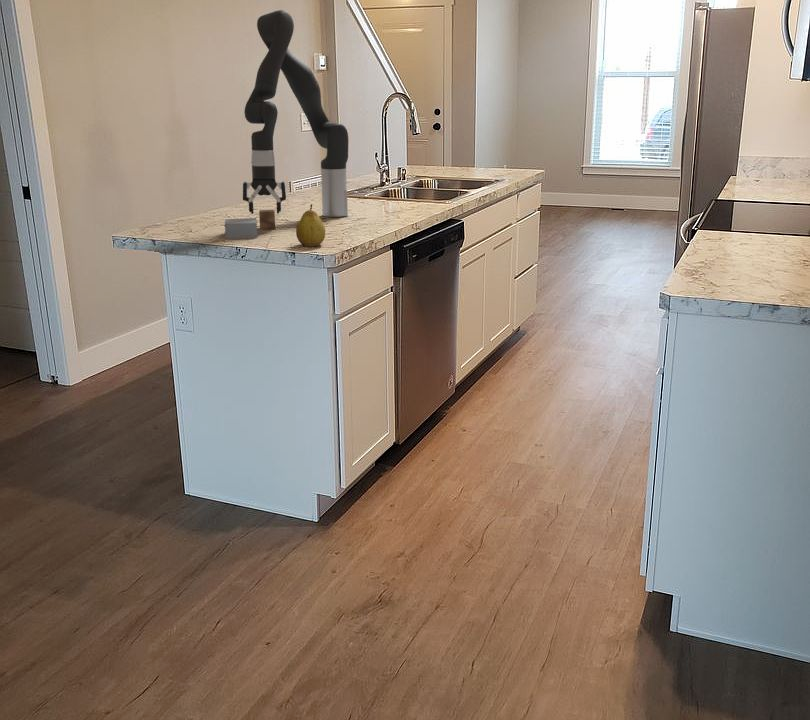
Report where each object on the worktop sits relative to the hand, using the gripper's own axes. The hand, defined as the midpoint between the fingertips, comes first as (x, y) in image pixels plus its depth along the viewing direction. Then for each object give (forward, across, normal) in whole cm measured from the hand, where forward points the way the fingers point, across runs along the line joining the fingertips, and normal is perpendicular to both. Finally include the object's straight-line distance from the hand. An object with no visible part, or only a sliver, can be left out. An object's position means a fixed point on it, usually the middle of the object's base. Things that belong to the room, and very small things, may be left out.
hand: (265, 213), depth 283 cm
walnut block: (+5, -1, 0) cm, 5 cm away
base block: (+6, +7, +13) cm, 16 cm away
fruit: (+5, -15, +34) cm, 38 cm away
